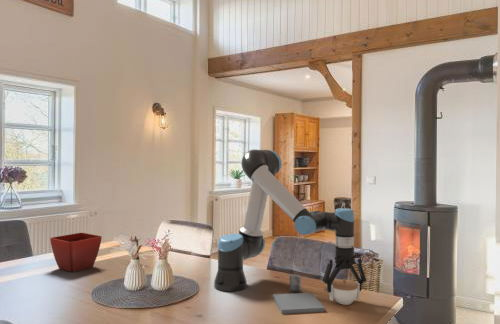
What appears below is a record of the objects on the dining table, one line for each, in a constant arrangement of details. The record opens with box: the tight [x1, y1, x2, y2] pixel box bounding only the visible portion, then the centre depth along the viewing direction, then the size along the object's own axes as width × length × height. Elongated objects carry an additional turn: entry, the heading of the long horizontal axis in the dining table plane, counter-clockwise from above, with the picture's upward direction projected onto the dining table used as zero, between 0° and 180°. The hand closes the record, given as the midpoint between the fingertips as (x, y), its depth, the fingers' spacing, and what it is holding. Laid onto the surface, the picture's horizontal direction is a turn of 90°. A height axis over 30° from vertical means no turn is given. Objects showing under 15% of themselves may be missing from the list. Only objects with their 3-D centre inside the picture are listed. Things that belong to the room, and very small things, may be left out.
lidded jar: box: [332, 278, 358, 306], centre depth 159 cm, size 11×11×9 cm
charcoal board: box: [272, 292, 325, 315], centre depth 156 cm, size 17×17×2 cm
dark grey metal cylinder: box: [289, 273, 302, 294], centre depth 172 cm, size 5×5×7 cm
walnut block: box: [323, 277, 339, 294], centre depth 172 cm, size 6×5×5 cm
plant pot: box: [49, 232, 102, 273], centre depth 208 cm, size 19×19×17 cm
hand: (344, 299), depth 159 cm, fingers closed on lidded jar, 11 cm apart
